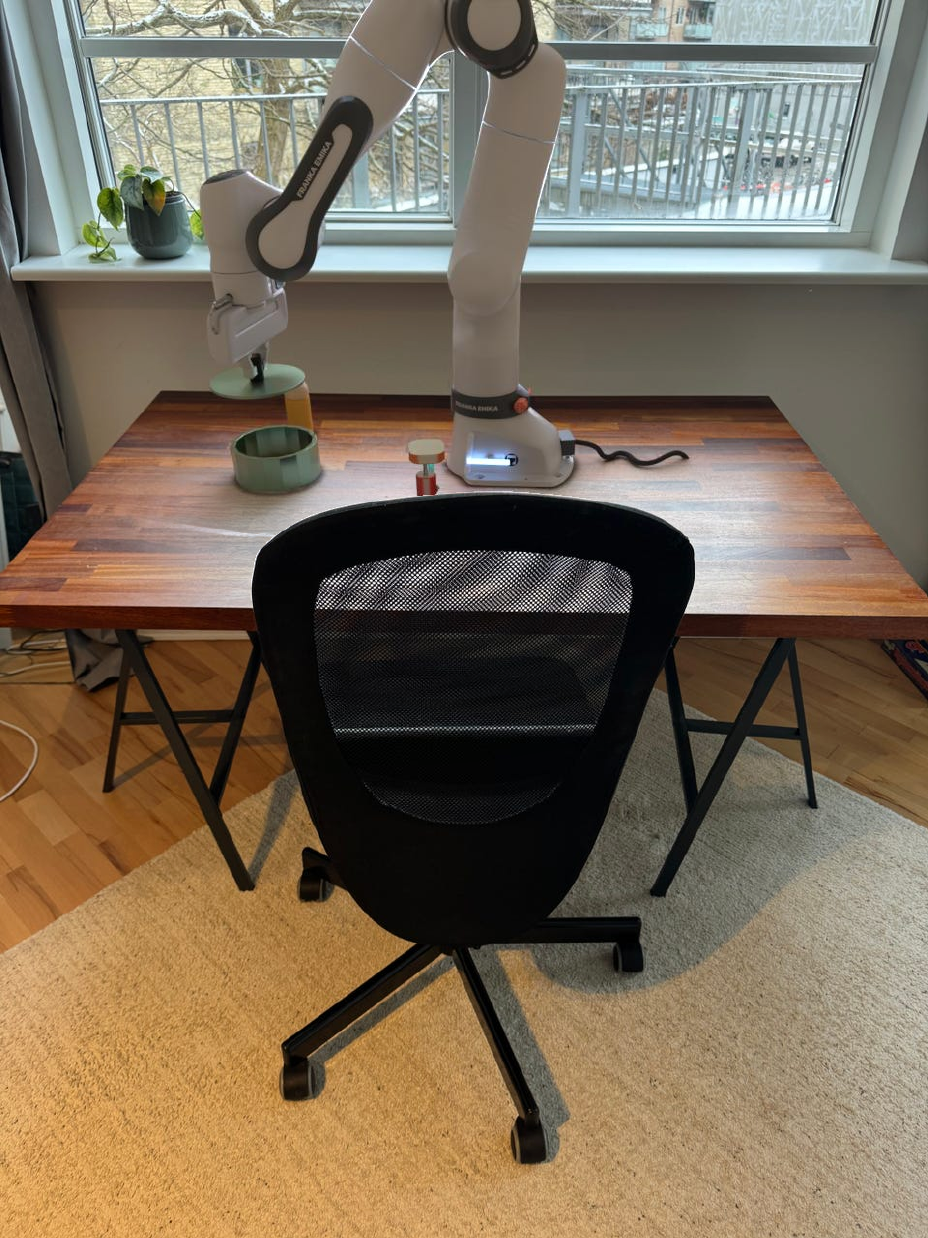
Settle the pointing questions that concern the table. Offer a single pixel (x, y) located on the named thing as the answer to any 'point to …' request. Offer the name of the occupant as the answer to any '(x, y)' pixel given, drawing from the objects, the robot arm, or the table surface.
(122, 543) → the table surface
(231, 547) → the table surface
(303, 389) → the toy
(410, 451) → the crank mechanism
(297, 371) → the lid
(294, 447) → the pot
